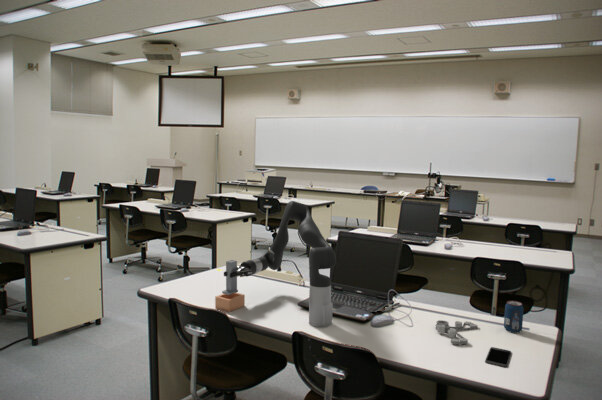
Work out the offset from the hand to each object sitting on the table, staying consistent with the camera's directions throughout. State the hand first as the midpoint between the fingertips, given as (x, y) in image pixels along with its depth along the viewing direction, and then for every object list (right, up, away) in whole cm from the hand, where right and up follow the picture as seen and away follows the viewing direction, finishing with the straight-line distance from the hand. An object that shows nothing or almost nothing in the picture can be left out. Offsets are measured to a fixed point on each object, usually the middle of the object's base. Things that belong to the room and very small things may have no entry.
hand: (227, 274), depth 202 cm
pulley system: (+98, -21, -22) cm, 103 cm away
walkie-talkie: (+73, -17, +5) cm, 75 cm away
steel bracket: (+1, -9, +3) cm, 9 cm away
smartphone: (+107, -23, -45) cm, 118 cm away
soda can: (+124, -20, -20) cm, 127 cm away
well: (+1, -16, +3) cm, 16 cm away
